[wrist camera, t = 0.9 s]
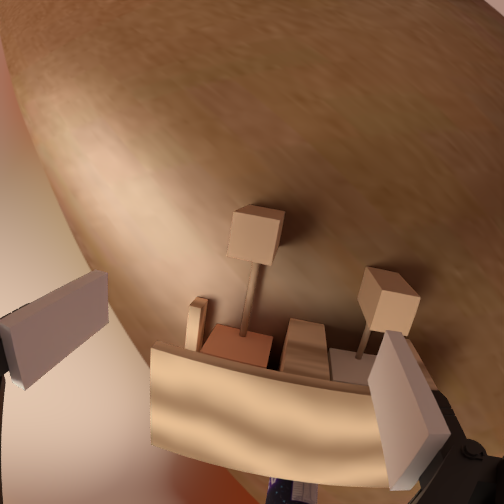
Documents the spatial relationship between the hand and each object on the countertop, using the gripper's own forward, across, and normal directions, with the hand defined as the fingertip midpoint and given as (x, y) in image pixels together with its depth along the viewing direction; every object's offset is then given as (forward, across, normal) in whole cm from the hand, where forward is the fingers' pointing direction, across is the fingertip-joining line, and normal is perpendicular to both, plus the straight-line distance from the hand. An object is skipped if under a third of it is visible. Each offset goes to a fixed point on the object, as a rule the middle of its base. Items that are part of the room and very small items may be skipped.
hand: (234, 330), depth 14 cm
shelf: (+17, +4, -12) cm, 22 cm away
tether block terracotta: (+17, -1, -6) cm, 18 cm away
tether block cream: (+17, +11, -8) cm, 22 cm away
